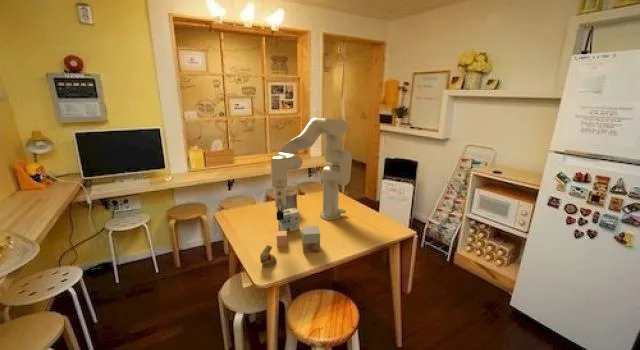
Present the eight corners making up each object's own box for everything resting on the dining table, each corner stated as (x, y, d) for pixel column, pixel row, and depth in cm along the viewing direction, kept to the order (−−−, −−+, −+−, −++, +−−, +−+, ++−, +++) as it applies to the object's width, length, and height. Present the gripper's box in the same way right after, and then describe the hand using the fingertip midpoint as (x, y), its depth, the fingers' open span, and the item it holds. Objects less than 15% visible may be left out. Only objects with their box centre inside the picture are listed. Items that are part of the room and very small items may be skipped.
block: (286, 241, 148) (286, 230, 146) (287, 246, 143) (286, 235, 141) (277, 241, 147) (276, 231, 146) (277, 246, 143) (276, 236, 141)
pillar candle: (290, 208, 189) (289, 186, 184) (300, 212, 182) (299, 190, 178) (278, 212, 182) (277, 190, 178) (288, 217, 176) (287, 194, 171)
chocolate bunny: (258, 263, 129) (257, 243, 126) (275, 258, 132) (274, 239, 129) (261, 269, 124) (260, 249, 121) (279, 265, 127) (278, 245, 125)
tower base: (317, 243, 146) (317, 235, 144) (319, 252, 138) (319, 243, 137) (302, 244, 145) (302, 236, 143) (303, 253, 137) (303, 244, 136)
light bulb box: (282, 233, 156) (281, 215, 153) (278, 228, 161) (277, 210, 158) (300, 229, 160) (299, 211, 157) (295, 224, 166) (295, 207, 163)
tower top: (318, 234, 145) (318, 225, 143) (320, 242, 137) (320, 233, 136) (302, 235, 143) (302, 226, 142) (303, 243, 136) (303, 234, 134)
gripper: (287, 187, 128) (288, 222, 133) (287, 177, 144) (287, 208, 149) (270, 188, 127) (271, 223, 132) (272, 177, 143) (272, 209, 148)
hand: (280, 215), depth 140 cm, fingers open, 9 cm apart
